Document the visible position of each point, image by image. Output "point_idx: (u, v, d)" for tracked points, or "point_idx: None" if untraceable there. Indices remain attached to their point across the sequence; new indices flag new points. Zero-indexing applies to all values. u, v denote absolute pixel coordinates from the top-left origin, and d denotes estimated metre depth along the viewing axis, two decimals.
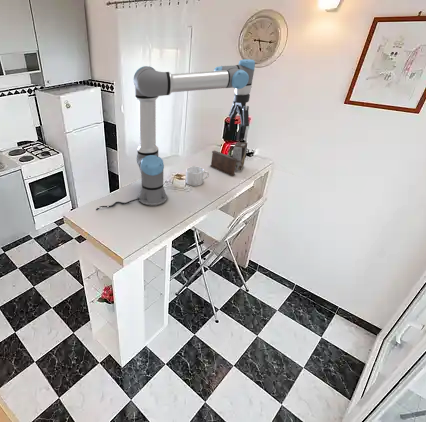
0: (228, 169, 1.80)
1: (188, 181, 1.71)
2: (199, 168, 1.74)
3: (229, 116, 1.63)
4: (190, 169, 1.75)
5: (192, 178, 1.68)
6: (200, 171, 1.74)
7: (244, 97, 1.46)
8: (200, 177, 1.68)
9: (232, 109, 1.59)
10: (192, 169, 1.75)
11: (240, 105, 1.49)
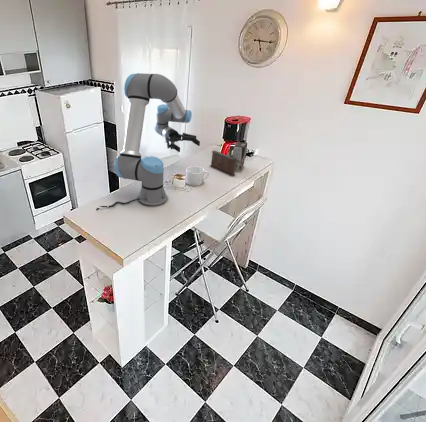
0: (228, 169, 1.80)
1: (188, 181, 1.71)
2: (199, 168, 1.74)
3: None
4: (190, 169, 1.75)
5: (192, 178, 1.68)
6: (200, 171, 1.74)
7: None
8: (200, 177, 1.68)
9: (168, 141, 1.75)
10: (192, 169, 1.75)
11: None
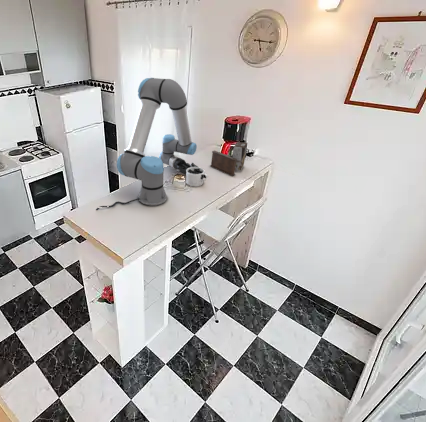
0: (228, 169, 1.80)
1: (186, 180, 1.72)
2: (201, 169, 1.72)
3: (190, 172, 1.71)
4: (193, 169, 1.74)
5: (189, 178, 1.69)
6: None
7: None
8: (197, 178, 1.67)
9: None
10: None
11: None
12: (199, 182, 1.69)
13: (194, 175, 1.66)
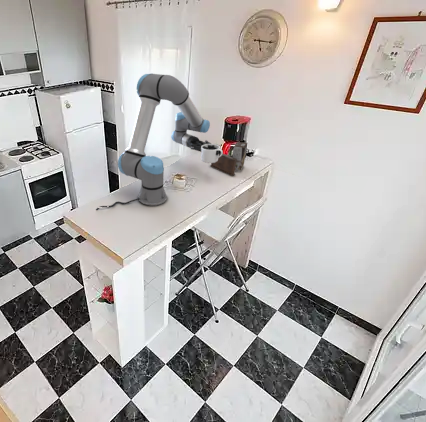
0: (228, 169, 1.80)
1: (201, 157, 1.70)
2: (217, 146, 1.69)
3: (205, 148, 1.68)
4: None
5: (204, 154, 1.67)
6: None
7: None
8: (212, 154, 1.65)
9: None
10: None
11: (199, 141, 1.78)
12: (214, 158, 1.67)
13: (209, 151, 1.64)
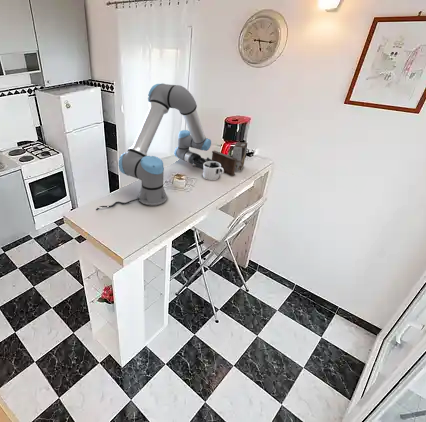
0: (228, 169, 1.80)
1: (203, 174, 1.78)
2: (218, 164, 1.77)
3: (206, 166, 1.76)
4: None
5: (206, 171, 1.75)
6: None
7: None
8: (214, 172, 1.73)
9: (199, 164, 1.79)
10: None
11: (201, 158, 1.86)
12: (215, 176, 1.74)
13: (210, 169, 1.72)
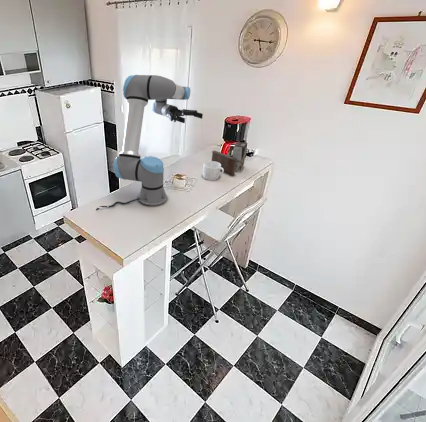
0: (228, 169, 1.80)
1: (203, 174, 1.78)
2: (218, 164, 1.77)
3: (172, 117, 1.69)
4: (210, 163, 1.80)
5: (206, 171, 1.75)
6: None
7: None
8: (214, 172, 1.73)
9: (171, 115, 1.74)
10: (212, 164, 1.80)
11: None
12: (215, 176, 1.74)
13: (211, 169, 1.72)
